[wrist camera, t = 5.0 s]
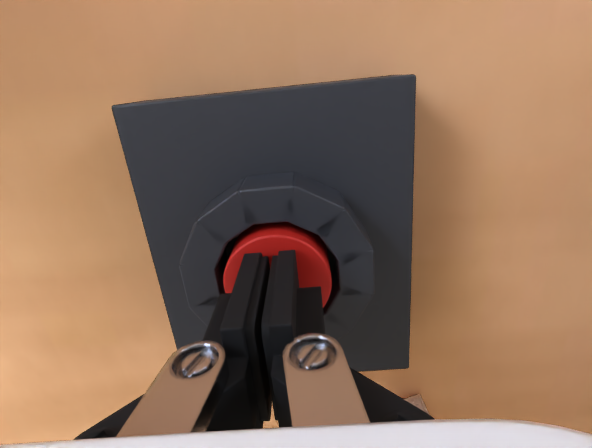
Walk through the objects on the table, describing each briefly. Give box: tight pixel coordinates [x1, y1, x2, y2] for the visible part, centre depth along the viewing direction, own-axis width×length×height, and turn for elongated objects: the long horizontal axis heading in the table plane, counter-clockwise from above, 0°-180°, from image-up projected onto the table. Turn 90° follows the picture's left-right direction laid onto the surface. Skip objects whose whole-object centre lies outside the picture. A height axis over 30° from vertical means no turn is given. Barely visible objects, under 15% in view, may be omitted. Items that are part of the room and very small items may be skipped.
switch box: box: [112, 74, 416, 372], centre depth 14 cm, size 12×10×4 cm
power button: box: [223, 222, 332, 307], centre depth 13 cm, size 4×4×2 cm
